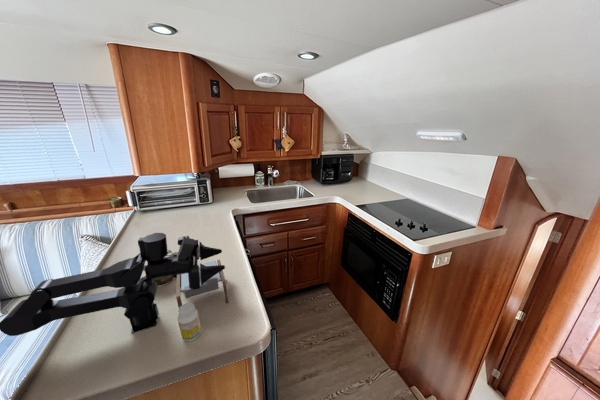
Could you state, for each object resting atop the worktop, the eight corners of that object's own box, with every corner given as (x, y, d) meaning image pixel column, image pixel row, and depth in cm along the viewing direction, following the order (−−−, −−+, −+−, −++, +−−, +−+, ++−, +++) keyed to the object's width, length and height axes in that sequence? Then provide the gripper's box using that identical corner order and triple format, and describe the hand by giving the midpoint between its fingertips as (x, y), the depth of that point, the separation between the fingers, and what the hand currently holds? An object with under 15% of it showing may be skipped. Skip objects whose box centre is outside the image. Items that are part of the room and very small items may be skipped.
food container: (159, 292, 85) (153, 269, 81) (147, 288, 87) (140, 265, 83) (185, 272, 96) (181, 251, 92) (174, 269, 98) (169, 248, 94)
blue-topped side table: (181, 318, 73) (176, 297, 70) (181, 289, 86) (177, 270, 83) (228, 302, 79) (225, 282, 76) (222, 277, 92) (219, 259, 89)
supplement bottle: (196, 341, 65) (191, 315, 62) (178, 341, 65) (171, 315, 62) (204, 325, 71) (199, 300, 67) (187, 325, 71) (181, 300, 67)
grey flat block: (181, 299, 72) (179, 292, 71) (181, 273, 84) (180, 266, 83) (223, 287, 77) (221, 280, 76) (217, 264, 89) (216, 258, 88)
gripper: (162, 261, 59) (226, 253, 65) (169, 228, 75) (220, 224, 81) (167, 296, 63) (226, 284, 69) (172, 257, 79) (220, 251, 85)
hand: (223, 258), depth 76 cm, fingers open, 9 cm apart
